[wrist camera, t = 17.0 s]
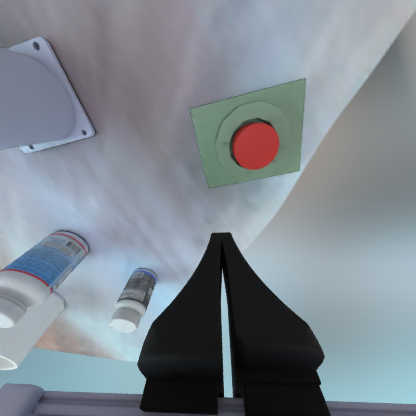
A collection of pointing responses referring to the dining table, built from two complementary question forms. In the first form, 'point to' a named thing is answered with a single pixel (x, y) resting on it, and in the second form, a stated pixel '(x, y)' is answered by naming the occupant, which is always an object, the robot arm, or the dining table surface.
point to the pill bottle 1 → (38, 274)
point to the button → (255, 145)
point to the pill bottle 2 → (133, 301)
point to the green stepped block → (244, 114)
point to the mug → (27, 331)
